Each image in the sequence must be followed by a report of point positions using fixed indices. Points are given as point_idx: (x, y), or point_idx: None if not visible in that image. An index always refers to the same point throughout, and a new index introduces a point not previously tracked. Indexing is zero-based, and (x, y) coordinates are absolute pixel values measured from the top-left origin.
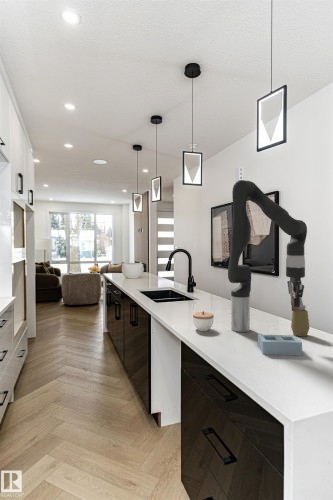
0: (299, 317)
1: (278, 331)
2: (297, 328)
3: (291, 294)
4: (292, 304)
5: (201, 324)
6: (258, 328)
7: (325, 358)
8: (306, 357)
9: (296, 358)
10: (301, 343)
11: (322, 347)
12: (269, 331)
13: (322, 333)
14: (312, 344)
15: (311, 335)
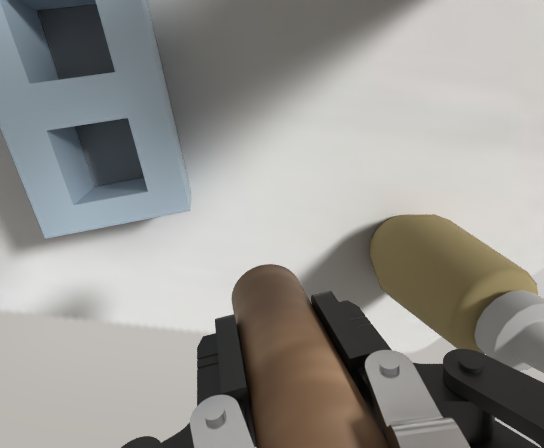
0: (425, 286)
1: (451, 142)
2: (386, 245)
3: (369, 385)
4: (258, 308)
5: None
6: (508, 23)
7: (70, 307)
8: None
9: (4, 180)
10: (46, 233)
11: (227, 313)
12: (450, 89)
13: (428, 335)
14: None
15: None
